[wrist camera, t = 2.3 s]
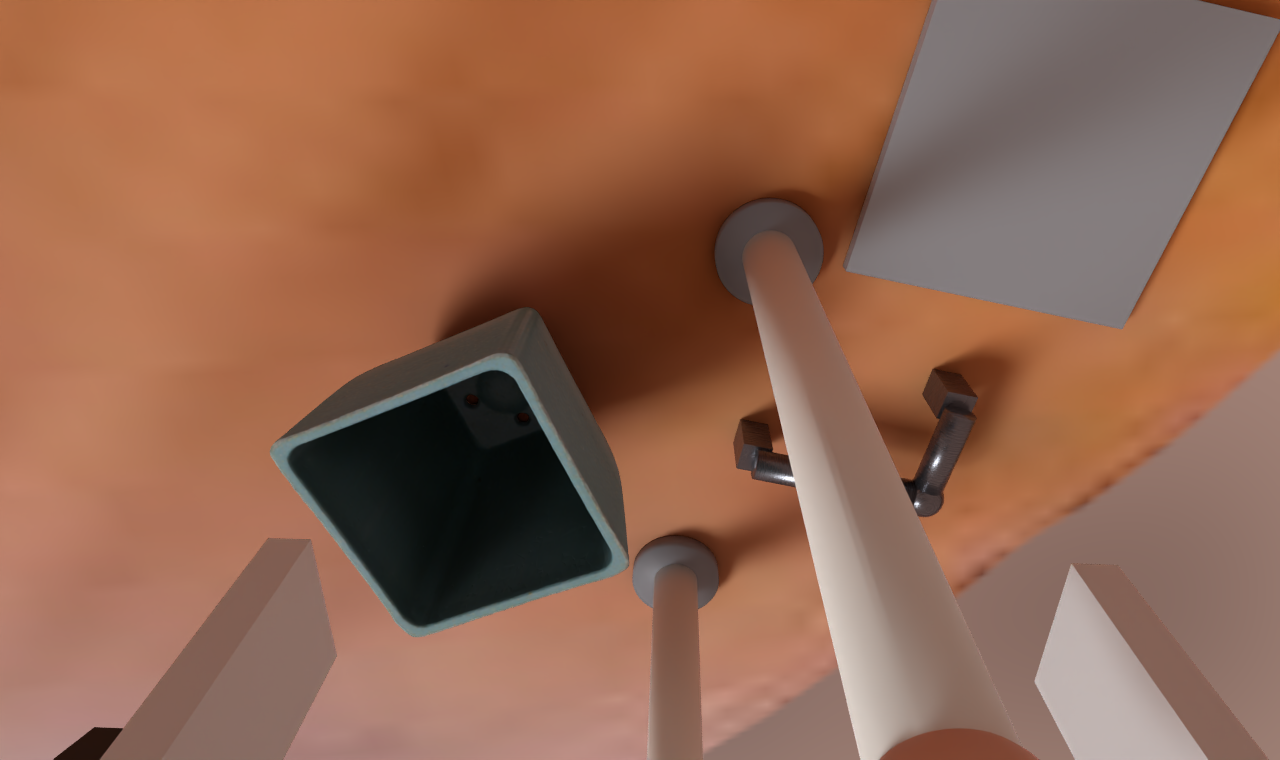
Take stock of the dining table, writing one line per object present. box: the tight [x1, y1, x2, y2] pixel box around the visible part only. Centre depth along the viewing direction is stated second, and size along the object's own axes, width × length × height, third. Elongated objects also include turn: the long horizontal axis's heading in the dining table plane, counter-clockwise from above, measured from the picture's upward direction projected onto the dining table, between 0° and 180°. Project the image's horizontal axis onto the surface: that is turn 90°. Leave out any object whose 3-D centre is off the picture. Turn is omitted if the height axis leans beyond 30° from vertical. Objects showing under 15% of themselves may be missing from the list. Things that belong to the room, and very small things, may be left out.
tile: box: [843, 0, 1280, 329], centre depth 27 cm, size 11×11×1 cm
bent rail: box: [733, 369, 978, 517], centre depth 31 cm, size 8×5×3 cm, turn 79°
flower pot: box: [270, 307, 629, 637], centre depth 29 cm, size 9×9×9 cm
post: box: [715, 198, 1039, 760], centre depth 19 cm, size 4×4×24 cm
